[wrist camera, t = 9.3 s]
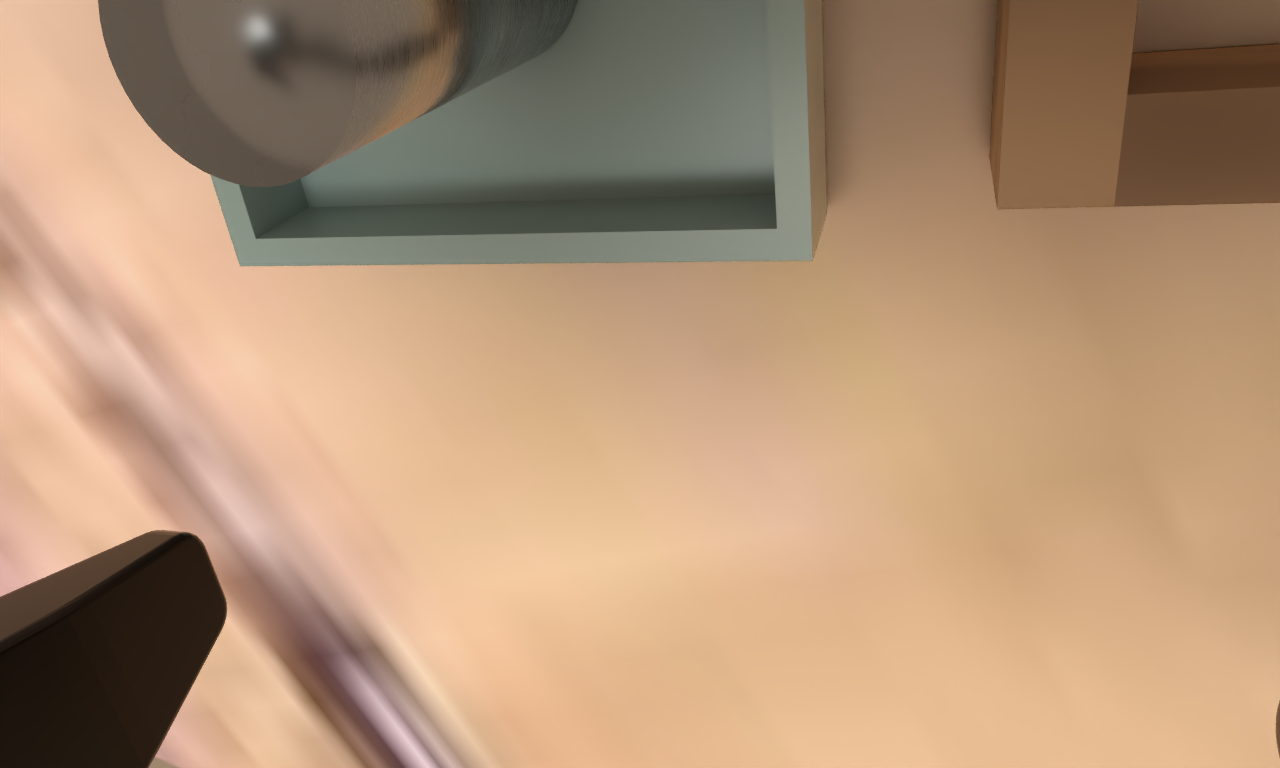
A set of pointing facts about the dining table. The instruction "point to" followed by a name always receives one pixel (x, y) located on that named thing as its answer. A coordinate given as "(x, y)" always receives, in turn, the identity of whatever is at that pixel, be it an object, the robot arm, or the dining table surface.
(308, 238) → the tray
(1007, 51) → the socket block
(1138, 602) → the dining table surface
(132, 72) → the pin
